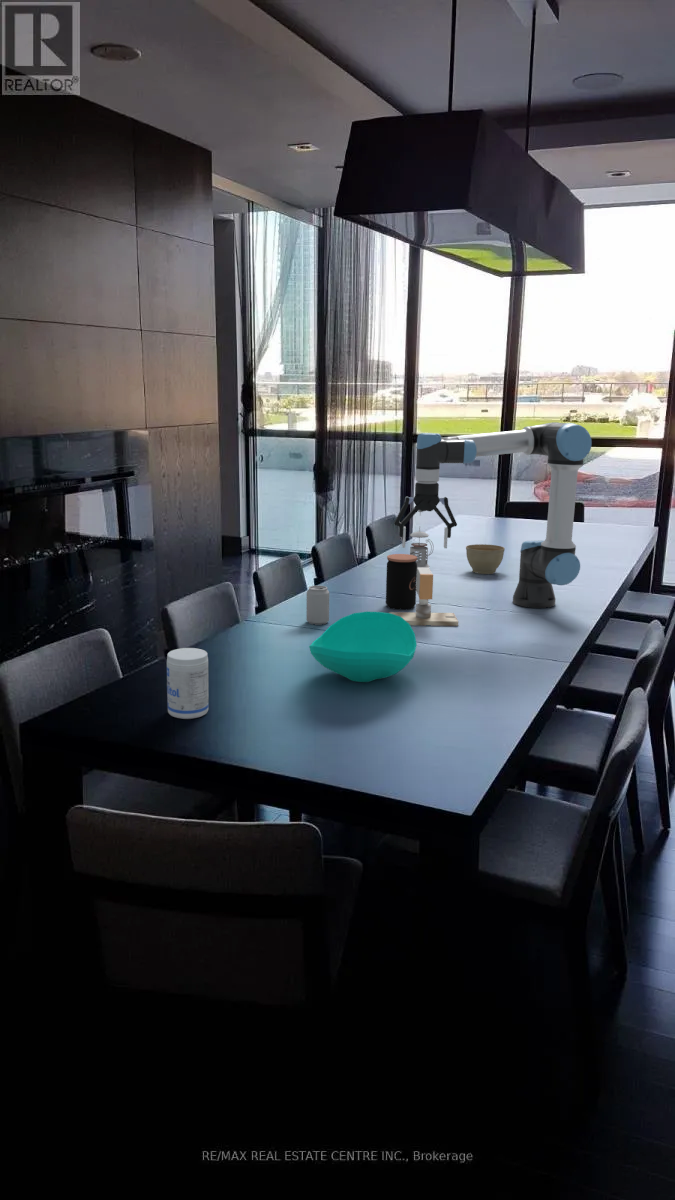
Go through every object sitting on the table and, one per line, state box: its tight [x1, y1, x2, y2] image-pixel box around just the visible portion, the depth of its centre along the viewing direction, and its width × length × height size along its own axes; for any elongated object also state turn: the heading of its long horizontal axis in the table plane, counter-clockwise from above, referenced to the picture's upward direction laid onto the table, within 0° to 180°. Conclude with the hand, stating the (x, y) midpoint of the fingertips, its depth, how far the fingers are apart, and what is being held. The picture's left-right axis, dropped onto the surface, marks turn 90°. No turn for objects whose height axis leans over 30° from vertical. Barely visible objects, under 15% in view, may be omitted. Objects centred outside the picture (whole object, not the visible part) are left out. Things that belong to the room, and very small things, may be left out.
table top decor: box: [309, 611, 418, 683], centre depth 228 cm, size 40×28×13 cm
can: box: [305, 585, 330, 626], centre depth 282 cm, size 8×8×12 cm
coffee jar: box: [385, 553, 417, 611], centre depth 303 cm, size 11×11×18 cm
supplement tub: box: [166, 647, 209, 720], centre depth 201 cm, size 10×10×15 cm
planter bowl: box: [465, 543, 505, 575], centre depth 364 cm, size 16×16×11 cm
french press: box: [409, 510, 434, 568], centre depth 373 cm, size 10×12×25 cm
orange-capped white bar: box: [416, 567, 434, 605], centre depth 284 cm, size 4×12×11 cm, turn 0°
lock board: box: [388, 603, 459, 627], centre depth 286 cm, size 22×11×6 cm, turn 90°
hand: (424, 547), depth 281 cm, fingers open, 13 cm apart
